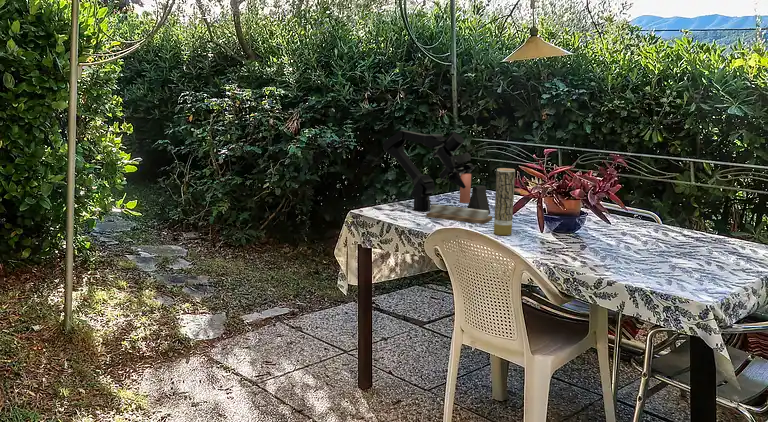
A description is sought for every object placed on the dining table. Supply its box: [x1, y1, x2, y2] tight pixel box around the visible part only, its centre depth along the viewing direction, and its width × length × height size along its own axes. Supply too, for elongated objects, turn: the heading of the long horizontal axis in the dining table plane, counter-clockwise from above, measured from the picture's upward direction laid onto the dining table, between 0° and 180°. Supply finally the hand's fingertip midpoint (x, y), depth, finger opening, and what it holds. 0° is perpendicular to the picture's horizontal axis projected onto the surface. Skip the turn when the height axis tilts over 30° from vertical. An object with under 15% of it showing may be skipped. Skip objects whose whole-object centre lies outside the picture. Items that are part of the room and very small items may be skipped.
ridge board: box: [425, 203, 493, 225], centre depth 278 cm, size 26×10×4 cm, turn 62°
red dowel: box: [459, 173, 472, 204], centre depth 277 cm, size 4×4×12 cm
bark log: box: [493, 167, 516, 237], centre depth 249 cm, size 7×7×25 cm
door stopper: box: [466, 185, 491, 215], centre depth 289 cm, size 9×6×12 cm, turn 39°
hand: (468, 187), depth 276 cm, fingers closed on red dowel, 4 cm apart
